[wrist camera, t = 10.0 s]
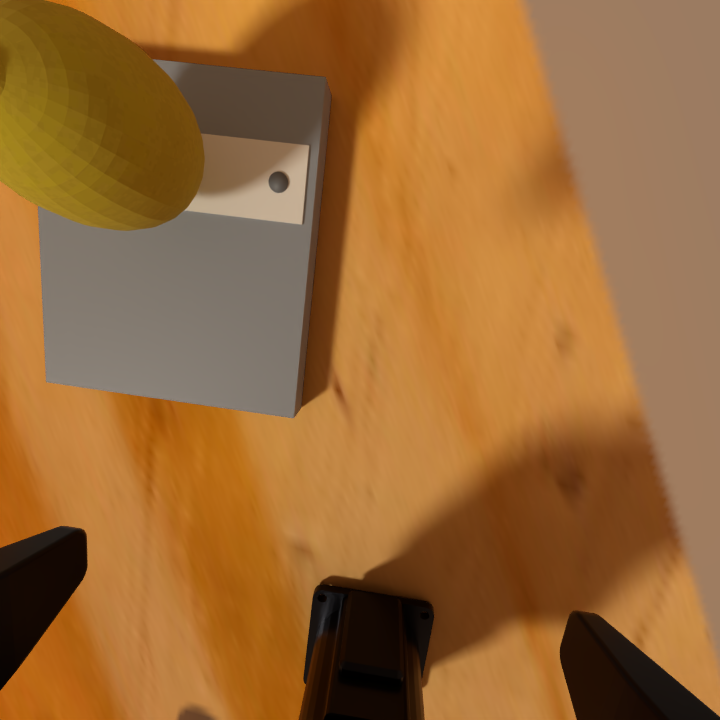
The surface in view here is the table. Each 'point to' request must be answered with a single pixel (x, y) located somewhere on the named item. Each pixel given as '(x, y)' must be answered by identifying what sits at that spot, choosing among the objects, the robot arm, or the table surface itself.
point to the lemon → (92, 121)
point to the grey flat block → (203, 259)
